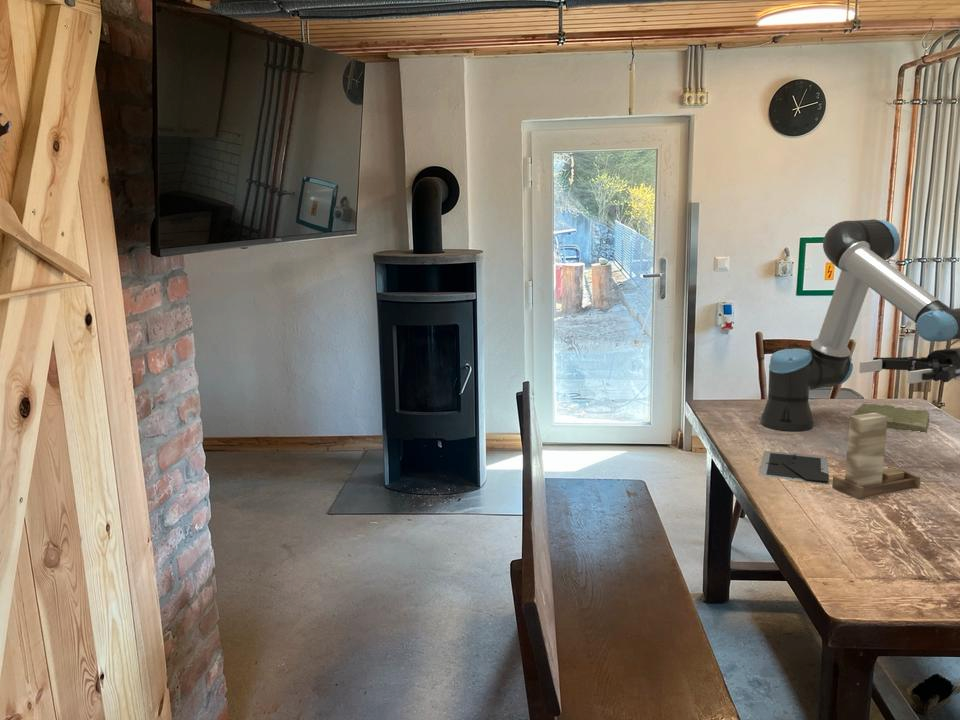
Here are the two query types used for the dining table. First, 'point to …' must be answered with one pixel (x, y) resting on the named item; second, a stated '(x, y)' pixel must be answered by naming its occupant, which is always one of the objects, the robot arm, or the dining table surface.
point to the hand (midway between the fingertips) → (884, 372)
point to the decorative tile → (898, 416)
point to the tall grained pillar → (866, 449)
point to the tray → (877, 486)
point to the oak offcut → (892, 475)
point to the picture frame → (795, 467)
